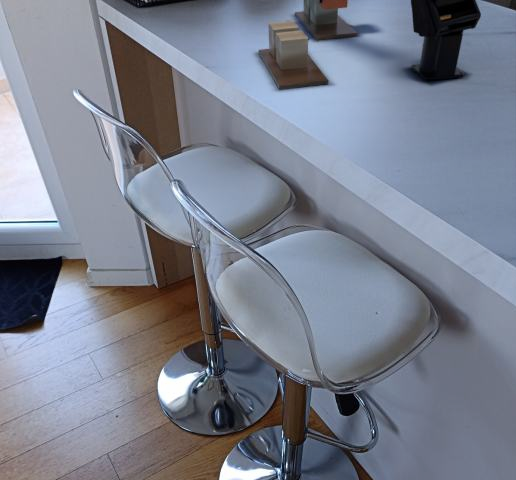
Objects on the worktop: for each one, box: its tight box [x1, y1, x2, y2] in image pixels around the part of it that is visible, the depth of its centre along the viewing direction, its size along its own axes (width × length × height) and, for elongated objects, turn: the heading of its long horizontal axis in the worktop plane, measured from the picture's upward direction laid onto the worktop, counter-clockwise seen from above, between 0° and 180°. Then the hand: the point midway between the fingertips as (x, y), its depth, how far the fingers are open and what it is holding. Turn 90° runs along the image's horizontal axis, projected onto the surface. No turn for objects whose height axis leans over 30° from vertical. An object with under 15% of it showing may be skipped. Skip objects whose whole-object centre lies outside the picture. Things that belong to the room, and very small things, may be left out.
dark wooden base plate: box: [294, 0, 358, 41], centre depth 107 cm, size 19×8×5 cm, turn 10°
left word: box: [258, 19, 329, 90], centre depth 90 cm, size 19×8×5 cm, turn 10°
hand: (332, 1), depth 101 cm, fingers closed on letter block, 4 cm apart
